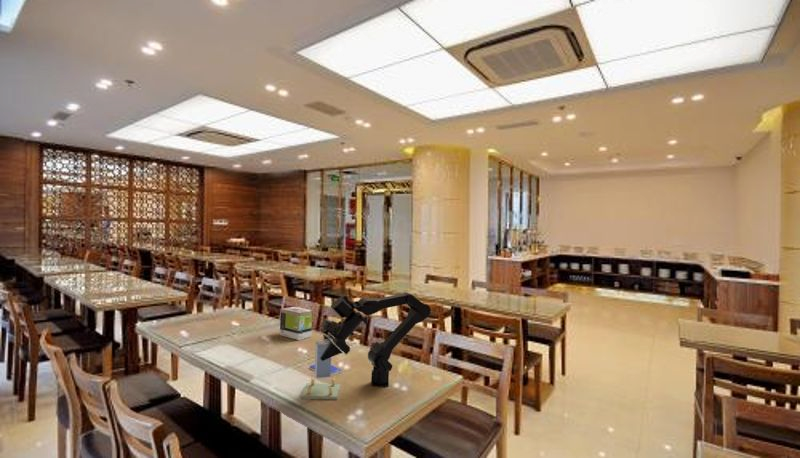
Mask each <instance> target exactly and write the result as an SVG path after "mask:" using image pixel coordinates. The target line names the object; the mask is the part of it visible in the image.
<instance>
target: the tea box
mask: <svg viewBox="0 0 800 458" xmlns="http://www.w3.org/2000/svg"><path fill="white" fill-rule="evenodd" d="M279 319H280V320H279V321H280V322H279V324H280V325H279V336H282V337H286V338H290V339H293V340H297V341H300V340H304V338H305V339H308V338H311V337H312V333H313V332H312V331H313V329H312V328H313V309H309V308H304V307H298V306H291V307H290V306H289V307H285V308H280V318H279Z"/></svg>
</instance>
